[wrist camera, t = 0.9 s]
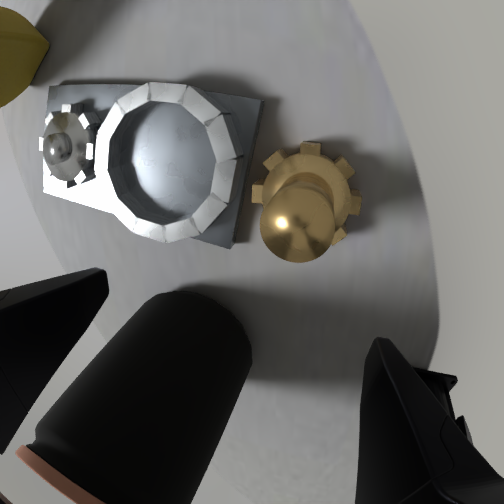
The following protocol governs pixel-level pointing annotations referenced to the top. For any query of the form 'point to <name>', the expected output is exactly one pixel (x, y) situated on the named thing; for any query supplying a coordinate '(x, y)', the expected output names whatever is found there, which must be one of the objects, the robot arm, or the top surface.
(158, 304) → the coffee jar
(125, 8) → the top surface
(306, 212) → the planet gear
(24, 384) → the robot arm
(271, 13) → the top surface
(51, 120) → the sun gear
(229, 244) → the carrier
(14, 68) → the flower pot
